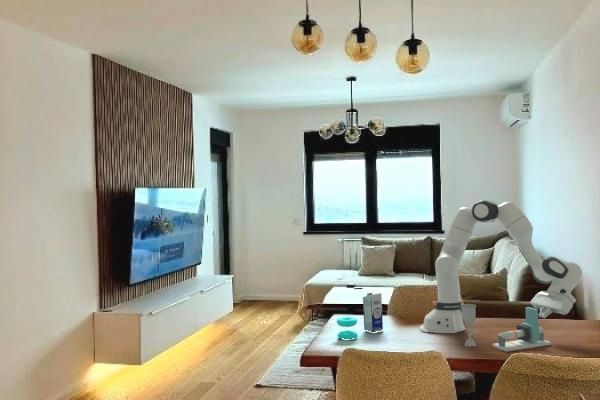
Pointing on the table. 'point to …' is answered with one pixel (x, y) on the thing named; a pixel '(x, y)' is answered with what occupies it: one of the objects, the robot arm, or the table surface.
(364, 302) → the milk carton
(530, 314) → the teal notched saddle block
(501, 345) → the pipe stand
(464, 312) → the chalice
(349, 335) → the donuts
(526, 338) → the dark gray block
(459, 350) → the table surface
